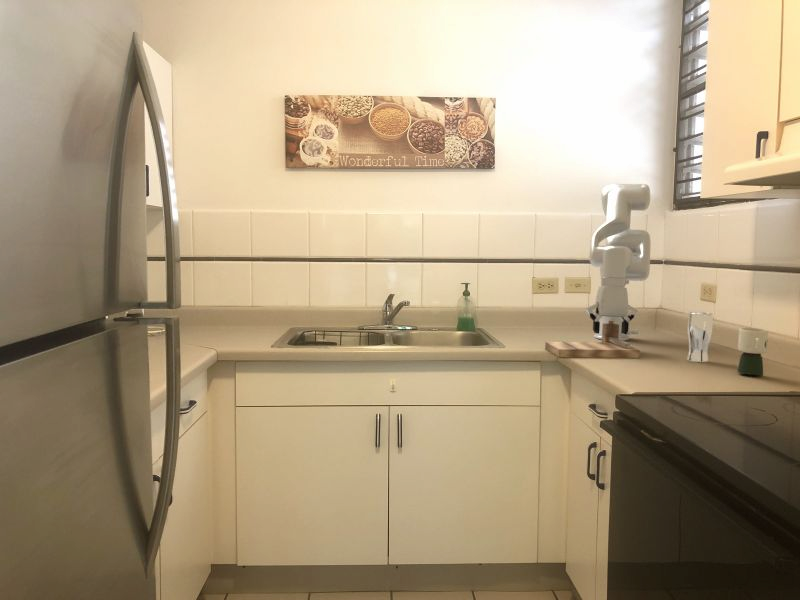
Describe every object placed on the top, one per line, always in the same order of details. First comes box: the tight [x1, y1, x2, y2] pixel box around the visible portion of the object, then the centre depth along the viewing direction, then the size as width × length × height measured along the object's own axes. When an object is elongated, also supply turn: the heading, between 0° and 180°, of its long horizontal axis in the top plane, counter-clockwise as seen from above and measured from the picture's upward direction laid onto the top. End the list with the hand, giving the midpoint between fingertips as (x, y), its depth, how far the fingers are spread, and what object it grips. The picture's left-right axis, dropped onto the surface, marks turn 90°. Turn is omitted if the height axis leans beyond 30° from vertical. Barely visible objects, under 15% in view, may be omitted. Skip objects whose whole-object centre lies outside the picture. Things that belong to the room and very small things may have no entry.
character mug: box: [737, 327, 769, 377], centre depth 175 cm, size 11×7×13 cm, turn 166°
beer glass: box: [686, 311, 714, 364], centre depth 194 cm, size 7×7×15 cm
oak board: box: [544, 341, 640, 359], centre depth 203 cm, size 26×14×3 cm, turn 94°
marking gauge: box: [601, 321, 631, 348], centre depth 206 cm, size 4×15×9 cm, turn 4°
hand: (610, 333), depth 212 cm, fingers open, 9 cm apart
